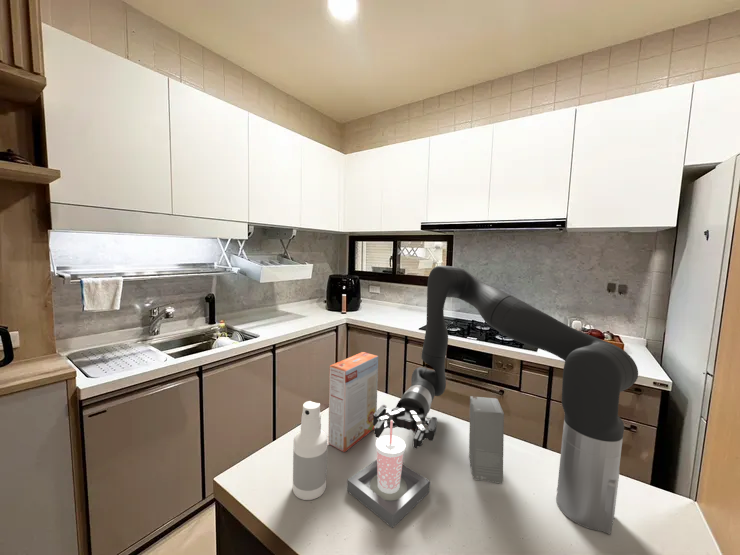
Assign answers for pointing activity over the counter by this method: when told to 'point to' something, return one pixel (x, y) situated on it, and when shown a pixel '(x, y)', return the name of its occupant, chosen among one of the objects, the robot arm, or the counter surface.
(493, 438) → the skincare box
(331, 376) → the cracker box
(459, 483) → the counter surface
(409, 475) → the coaster tray
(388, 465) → the beverage cup
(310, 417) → the spray bottle
